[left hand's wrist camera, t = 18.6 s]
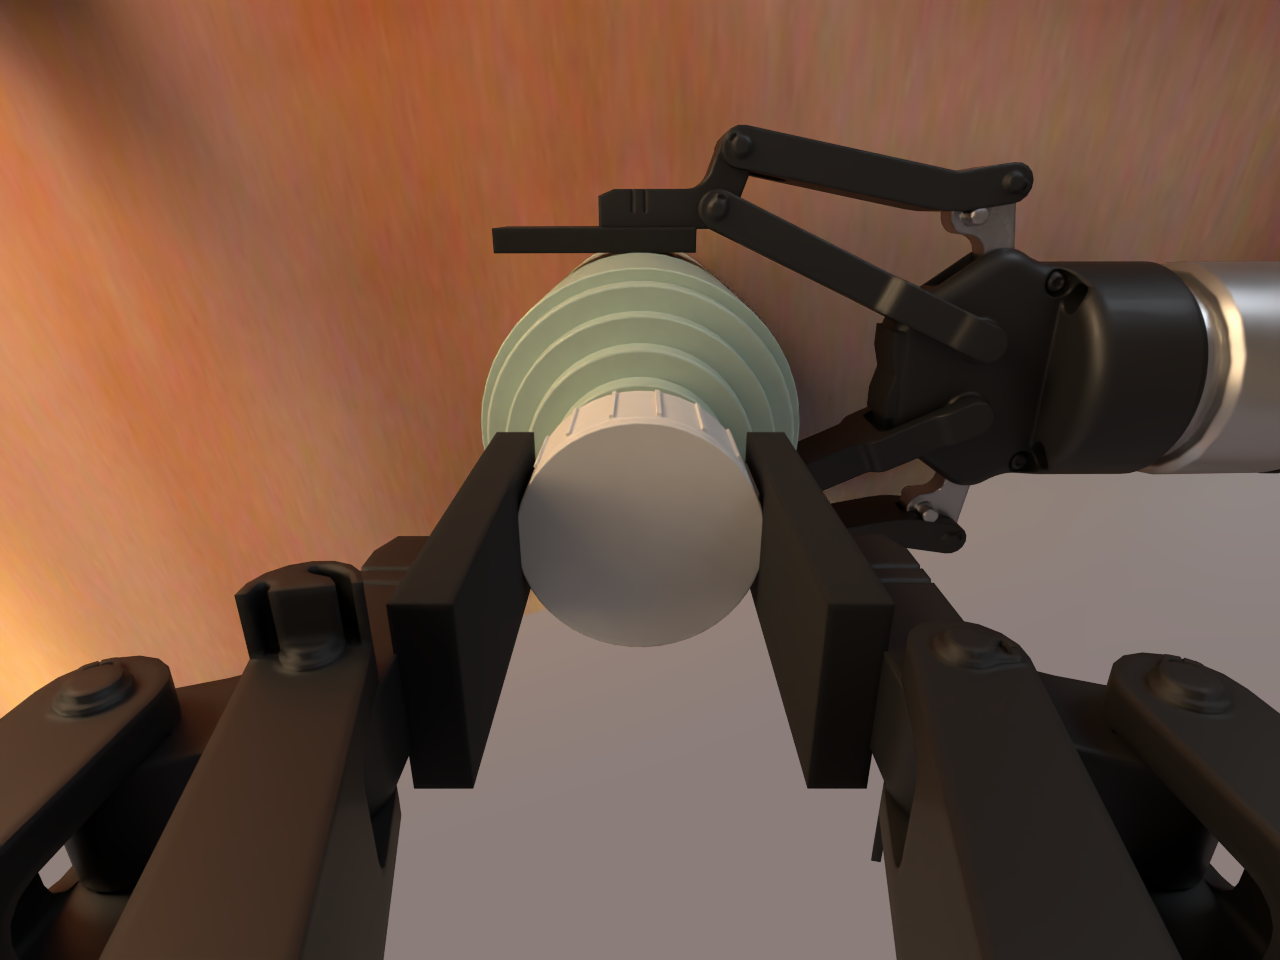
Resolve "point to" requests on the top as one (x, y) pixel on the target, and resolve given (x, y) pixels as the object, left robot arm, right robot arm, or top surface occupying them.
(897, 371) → the right robot arm
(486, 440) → the bottle
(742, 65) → the top surface
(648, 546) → the cap
